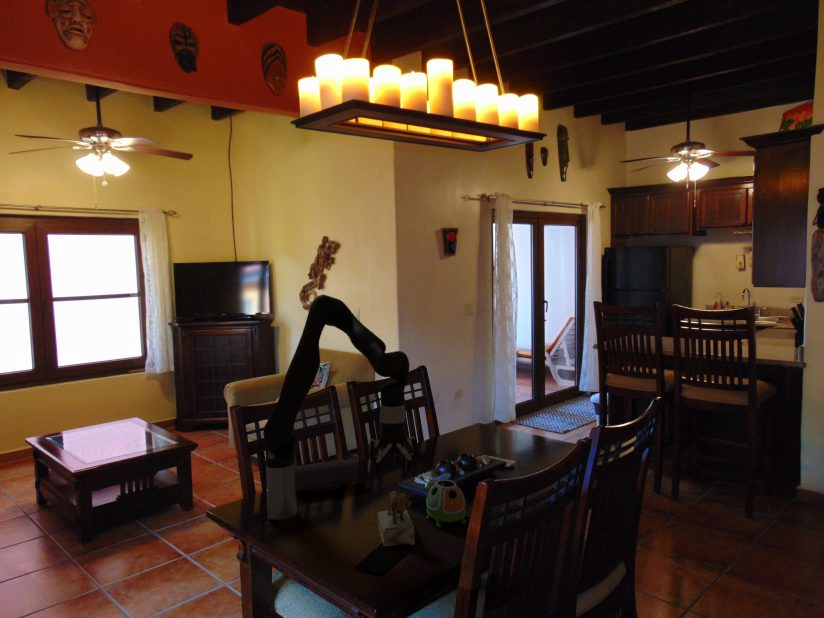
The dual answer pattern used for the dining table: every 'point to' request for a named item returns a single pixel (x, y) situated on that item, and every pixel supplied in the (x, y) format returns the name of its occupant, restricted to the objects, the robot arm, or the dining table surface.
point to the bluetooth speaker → (326, 475)
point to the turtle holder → (445, 502)
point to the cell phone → (382, 559)
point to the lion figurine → (398, 505)
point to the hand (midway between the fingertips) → (393, 472)
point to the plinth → (395, 529)
